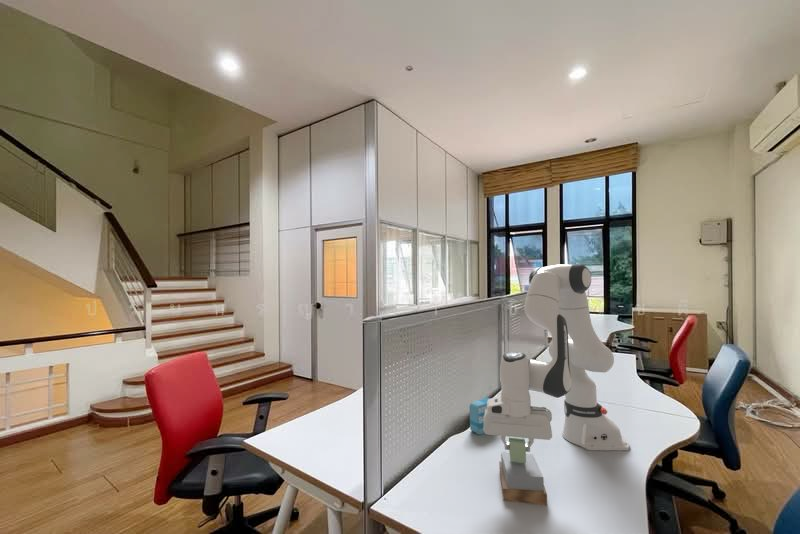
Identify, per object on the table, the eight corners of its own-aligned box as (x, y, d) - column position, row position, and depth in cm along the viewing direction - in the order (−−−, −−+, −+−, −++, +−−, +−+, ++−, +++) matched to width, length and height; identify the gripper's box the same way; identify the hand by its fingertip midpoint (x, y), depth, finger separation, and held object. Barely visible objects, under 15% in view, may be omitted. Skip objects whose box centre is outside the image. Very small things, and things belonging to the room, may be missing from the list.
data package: (477, 435, 133) (476, 406, 134) (469, 431, 137) (469, 402, 137) (497, 427, 140) (496, 399, 140) (489, 424, 143) (489, 396, 144)
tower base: (537, 477, 106) (537, 465, 106) (547, 507, 92) (546, 493, 93) (499, 473, 109) (499, 461, 109) (503, 502, 95) (502, 488, 95)
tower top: (533, 466, 105) (532, 454, 106) (543, 491, 94) (543, 477, 94) (501, 464, 107) (501, 452, 107) (507, 488, 95) (507, 474, 95)
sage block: (524, 455, 103) (523, 435, 103) (526, 463, 98) (525, 443, 99) (509, 453, 104) (508, 434, 104) (510, 461, 100) (509, 441, 100)
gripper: (549, 403, 102) (551, 448, 102) (482, 399, 107) (483, 441, 107) (553, 412, 96) (555, 459, 96) (482, 407, 101) (484, 451, 101)
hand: (517, 449), depth 101 cm, fingers open, 5 cm apart
